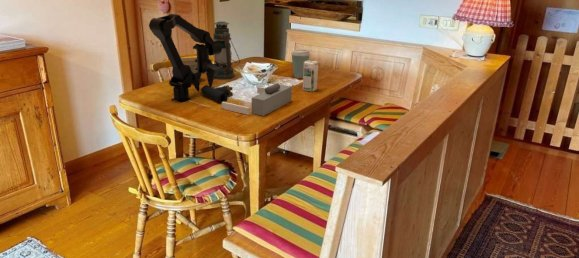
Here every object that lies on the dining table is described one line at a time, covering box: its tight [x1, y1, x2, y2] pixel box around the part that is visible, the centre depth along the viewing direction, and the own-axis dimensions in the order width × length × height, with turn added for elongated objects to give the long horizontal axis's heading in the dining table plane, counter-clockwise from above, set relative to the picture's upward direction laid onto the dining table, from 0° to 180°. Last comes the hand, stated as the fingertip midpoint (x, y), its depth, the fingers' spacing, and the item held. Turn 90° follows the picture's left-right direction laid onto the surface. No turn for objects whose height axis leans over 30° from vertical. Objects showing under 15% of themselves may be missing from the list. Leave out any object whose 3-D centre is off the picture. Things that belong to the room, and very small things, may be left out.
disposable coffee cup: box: [291, 49, 311, 79], centre depth 237 cm, size 11×11×15 cm
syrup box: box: [302, 59, 319, 93], centre depth 215 cm, size 6×6×14 cm
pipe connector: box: [200, 84, 234, 104], centre depth 201 cm, size 12×5×15 cm
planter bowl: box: [181, 56, 197, 71], centre depth 224 cm, size 16×16×11 cm
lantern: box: [212, 20, 241, 80], centre depth 231 cm, size 19×14×30 cm
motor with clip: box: [221, 82, 293, 117], centre depth 193 cm, size 29×20×10 cm
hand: (204, 89), depth 208 cm, fingers open, 9 cm apart
